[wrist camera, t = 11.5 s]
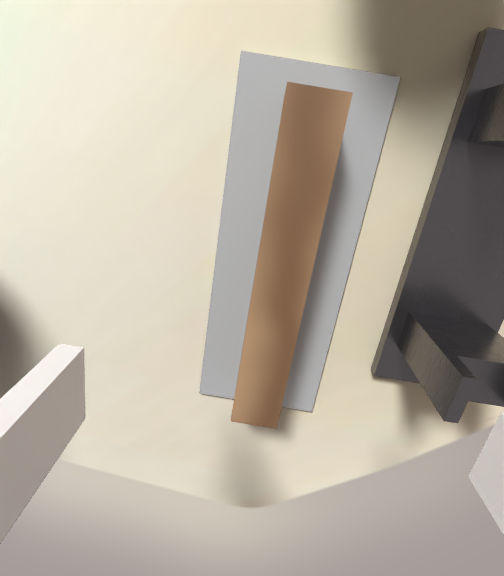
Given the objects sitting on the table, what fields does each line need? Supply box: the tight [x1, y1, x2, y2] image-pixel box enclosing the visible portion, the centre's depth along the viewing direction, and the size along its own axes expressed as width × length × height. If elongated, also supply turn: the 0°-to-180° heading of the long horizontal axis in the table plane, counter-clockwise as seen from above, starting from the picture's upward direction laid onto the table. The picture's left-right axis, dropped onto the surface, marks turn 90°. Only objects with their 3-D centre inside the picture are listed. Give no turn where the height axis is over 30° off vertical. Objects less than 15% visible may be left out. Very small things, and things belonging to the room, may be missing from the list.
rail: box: [231, 82, 353, 429], centre depth 25 cm, size 3×22×5 cm, turn 171°
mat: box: [199, 51, 401, 412], centre depth 27 cm, size 10×26×1 cm, turn 171°
